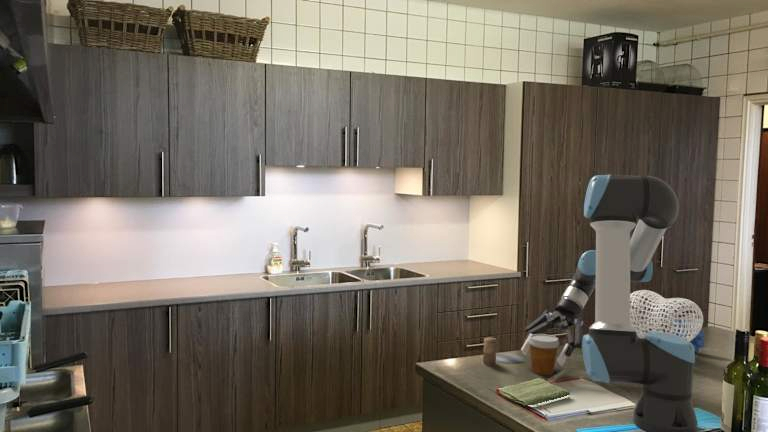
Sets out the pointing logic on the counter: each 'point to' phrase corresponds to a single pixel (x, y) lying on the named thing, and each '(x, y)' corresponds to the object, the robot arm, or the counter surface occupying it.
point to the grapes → (695, 342)
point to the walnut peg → (489, 351)
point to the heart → (662, 302)
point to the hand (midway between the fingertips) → (540, 357)
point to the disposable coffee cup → (543, 353)
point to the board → (508, 359)
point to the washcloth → (533, 392)
